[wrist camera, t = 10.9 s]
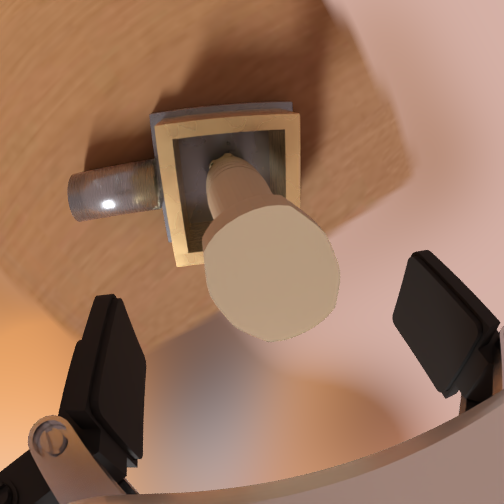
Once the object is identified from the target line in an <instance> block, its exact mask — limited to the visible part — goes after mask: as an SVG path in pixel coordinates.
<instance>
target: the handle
mask: <svg viewBox="0 0 504 504" xmlns="http://www.w3.org/2000/svg"><path fill="white" fill-rule="evenodd" d="M209 169H210V170H209V172H208V174H207V179H206V193H207V200H208V205H209V208H210V211H211V214H212V217H213V219H214V220H213V221H212V223H211V224H210V225H209V227H208V228H207V230H206V232H205V234H204V236H203V237H202V245H203V256H204V266H205V274H206V281H207V287H208V290H209V294H210V296H211V298H212V300H213V301H214V303H215V304H216V306H217V307H218V308H219V310H220V311H221V312H222V313H223V315H224V316H225V317H226V318H227V319H228V321H229V322H230V323H231V324H233V326H234V327H236V328H238V329H239V330H241V331H243V332H245V333H247V334H249V335H252V336H254V337H257V338H259V339H262V340H264V341H267V342H274V341H282V340H286V339H289V338H293V337H295V336H298V335H300V334H302V333H304V332H306V331H308V330H310V329H312V328H313V327H315V326H316V325H318V324H319V323H320V322H322V321H323V320H324V319H325V318H326V317H327V316H328V315H329V314H330V313H331V312H332V311H333V309H334V308H335V305H336V301H337V295H338V290H339V284H340V270H339V265H338V262H337V259H336V257H335V254H334V251H333V249H332V246H331V244H330V242H329V240H328V238H327V236H326V234H325V233H324V232H323V230H322V229H321V228H320V226H319V225H318V224H317V223H316V222H315V221H314V220H313V219H312V218H311V217H309V216H308V215H307V214H306V213H305V212H303V211H302V210H301V209H300V208H298V207H297V206H296V205H294V204H293V203H292V202H290V201H289V200H287V199H286V198H284V197H283V196H281V195H274V194H272V192H271V190H270V188H269V186H268V185H267V183H266V181H265V180H264V178H263V177H262V176H261V175H260V173H259V172H258V171H257V170H256V169H255V168H254V167H253V166H252V165H251V164H249V163H248V162H247V161H245V160H243V159H241V158H238V157H234V156H233V155H232V154H231V153H224V155H223V156H222V157H220V158H219V159H216V160H212V161H211V162H210V164H209Z"/></svg>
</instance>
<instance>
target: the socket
mask: <svg viewBox="0 0 504 504" xmlns="http://www.w3.org/2000/svg"><path fill="white" fill-rule="evenodd" d="M149 116H150V125H151V133H152V141H153V149H154V156H155V159H149V160H143V161H137V162H131V163H125V164H120V165H115V166H109V167H104V168H99V169H94V170H90V171H85V172H80V173H76V174H73V175H72V176H71V177H70V179H69V183H68V202H69V206H70V210H71V212H72V215H73V216H74V218H75V219H76V220H77V221H79V222H81V221H86V220H92V219H98V218H104V217H110V216H116V215H122V214H129V213H135V212H142V211H149V210H156V209H161V207H162V208H163V214H164V219H165V225H166V230H167V236H168V241H169V242H172V245H173V250H174V255H175V260H176V265H177V267H181V266H189V265H197V264H204V256H203V245H202V237H203V236H204V234H205V232H206V230H207V228H208V227H209V225H210V224H211V223H212V221H213V220H214V219H213V217H212V214H211V211H210V208H209V205H208V200H207V193H206V179H207V174H208V172H209V170H210V169H209V164H210V162H211V161H212V160H216V159H219V158H220V157H222V156H223V155H224V153H231V154H232V155H233V156H234V157H238V158H241V159H243V160H245V161H247V162H248V163H249V164H251V165H252V166H253V167H254V168H255V169H256V170H257V171H258V172H259V173H260V175H261V176H262V177H263V178H264V180H265V181H266V183H267V185H268V186H269V188H270V190H271V192H272V194H274V195H281V196H283V197H284V198H286V199H287V200H289V201H290V202H292V203H293V204H294V205H296V206H297V207H298V208H300V114H299V113H296V112H293V109H292V102H290V101H268V102H247V103H232V104H220V105H209V106H200V107H191V108H183V109H175V110H168V111H162V112H155V113H151V114H149Z"/></svg>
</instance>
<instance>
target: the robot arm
mask: <svg viewBox="0 0 504 504" xmlns="http://www.w3.org/2000/svg"><path fill="white" fill-rule="evenodd" d="M393 323H394V325H395V327H396V328H397V329H398V331H399V332H400V334H401V335H402V337H403V338H404V340H405V341H406V343H407V344H408V346H409V347H410V349H411V350H412V352H413V353H414V355H415V356H416V358H417V359H418V361H419V362H420V364H421V365H422V367H423V369H424V370H425V372H426V373H427V375H428V376H429V378H430V379H431V381H432V383H433V384H434V386H435V387H436V389H437V390H438V391H439V392H442V394H443V396H444V397H445V398H448V397H450V396H452V395H454V394H456V393H457V392H458V390H460V392H461V402H460V409H459V416H457V417H455V418H453V419H452V420H449V421H448V422H446V423H444V424H442V425H440V426H438V427H436V428H434V429H432V430H429V431H427V432H425V433H423V434H421V435H418V436H416V437H414V438H412V439H409V440H407V441H405V442H402V443H400V444H398V445H395V446H393V447H390V448H388V449H385V450H382V451H380V452H377V453H375V454H372V455H369V456H366V457H363V458H360V459H358V460H354V461H351V462H348V463H346V464H342V465H338V466H335V467H332V468H328V469H325V470H321V471H317V472H313V473H309V474H306V475H301V476H297V477H293V478H288V479H283V480H278V481H274V482H268V483H262V484H257V485H250V486H244V487H236V488H228V489H220V490H211V491H200V492H186V493H169V494H168V493H167V494H166V493H165V494H139V493H138V492H137V491H136V489H135V488H134V487H133V486H132V485H131V484H130V483H129V482H128V481H127V479H126V478H125V477H126V476H127V475H126V474H127V473H126V472H127V467H137V459H141V458H142V456H143V416H144V395H145V378H146V360H145V357H144V354H143V352H142V349H141V347H140V345H139V342H138V340H137V337H136V335H135V332H134V330H133V327H132V325H131V322H130V319H129V317H128V314H127V311H126V309H125V306H124V303H123V301H122V299H121V298H116V296H115V295H114V294H109V295H99V296H96V297H95V299H94V302H93V305H92V308H91V311H90V314H89V317H88V320H87V324H86V327H85V330H84V334H83V337H82V340H79V341H78V342H77V344H76V346H75V350H74V353H73V357H72V360H71V364H70V368H69V371H68V375H67V379H66V384H65V387H64V392H63V396H62V400H61V404H60V409H59V414H58V416H54V415H51V416H45V417H43V418H41V419H40V420H38V421H37V422H36V423H35V424H34V425H33V427H32V428H31V430H30V433H29V436H28V446H29V450H28V451H27V452H25V453H24V454H23V455H21V456H20V457H19V458H18V459H16V460H15V461H14V462H12V463H11V464H10V465H9V466H7V467H6V468H5V469H3V470H2V471H1V472H0V504H504V326H503V327H502V328H501V330H500V332H498V331H497V328H498V326H499V324H500V322H499V320H498V319H497V318H496V317H495V316H494V315H493V314H492V313H491V312H490V310H489V309H488V308H487V307H486V306H485V305H484V304H483V303H482V302H481V301H480V300H479V299H478V298H477V297H476V295H474V293H473V292H472V291H471V290H470V289H469V288H468V287H467V286H466V285H465V284H464V283H463V282H462V281H461V280H460V279H459V278H458V277H457V276H456V275H454V273H453V272H452V271H450V269H449V268H447V267H446V266H445V265H444V264H443V263H442V262H441V261H440V260H439V259H438V258H437V257H436V256H435V255H434V254H433V253H432V252H430V251H429V250H424V251H418V252H414V253H413V254H412V255H411V257H410V258H409V259H408V262H407V266H406V270H405V274H404V278H403V282H402V285H401V289H400V292H399V296H398V299H397V303H396V306H395V310H394V313H393Z"/></svg>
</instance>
